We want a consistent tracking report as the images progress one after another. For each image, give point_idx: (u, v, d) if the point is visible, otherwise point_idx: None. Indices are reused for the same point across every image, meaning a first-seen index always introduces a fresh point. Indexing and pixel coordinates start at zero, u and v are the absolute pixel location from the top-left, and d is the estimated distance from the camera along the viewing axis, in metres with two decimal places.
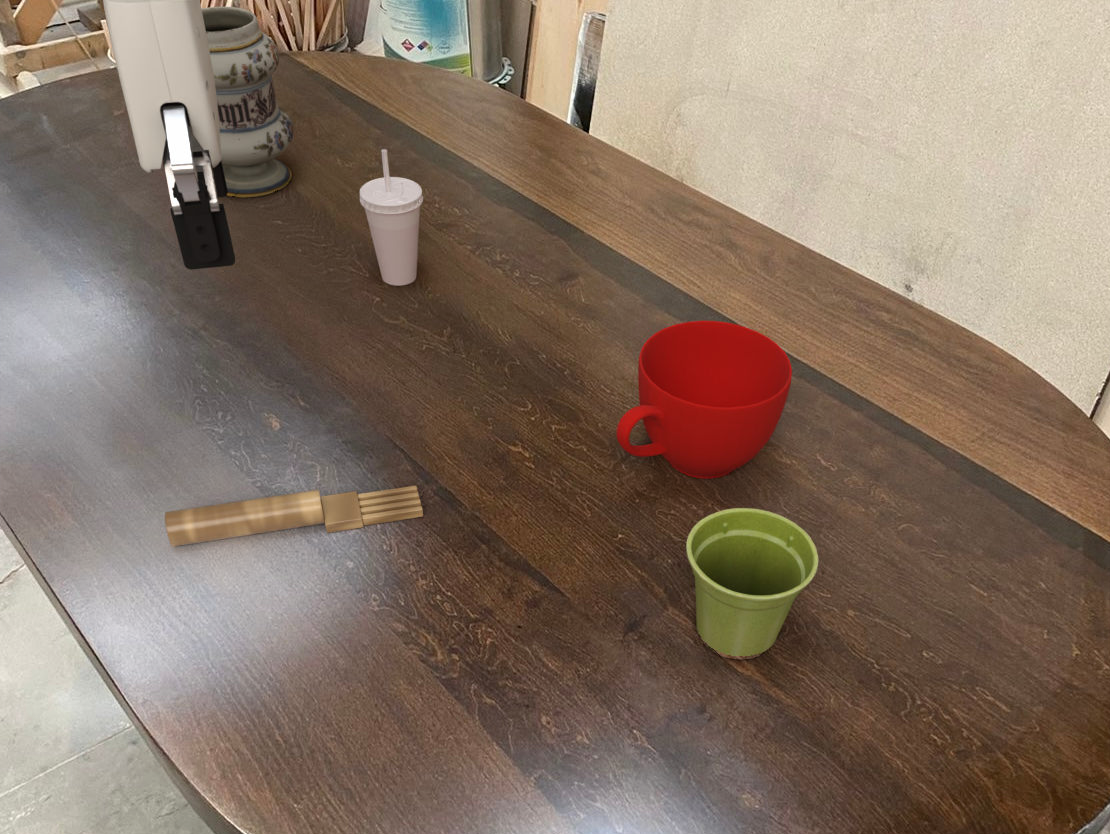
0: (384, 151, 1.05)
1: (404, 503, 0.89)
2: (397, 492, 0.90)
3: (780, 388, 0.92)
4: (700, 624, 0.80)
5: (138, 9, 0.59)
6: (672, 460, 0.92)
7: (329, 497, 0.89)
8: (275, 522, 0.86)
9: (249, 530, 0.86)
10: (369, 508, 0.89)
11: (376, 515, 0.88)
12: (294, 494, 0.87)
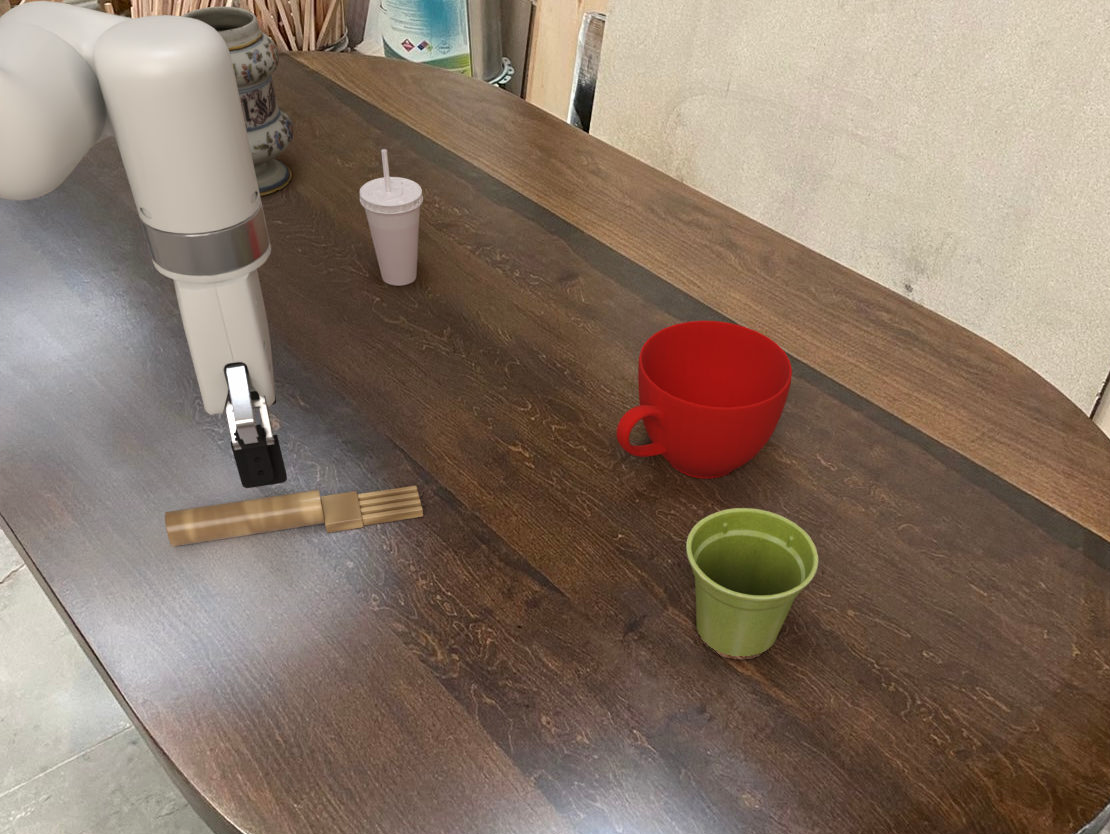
0: (384, 151, 1.05)
1: (404, 503, 0.89)
2: (397, 492, 0.90)
3: (780, 388, 0.92)
4: (700, 624, 0.80)
5: (206, 294, 0.67)
6: (672, 460, 0.92)
7: (329, 497, 0.89)
8: (275, 522, 0.86)
9: (249, 530, 0.86)
10: (369, 508, 0.89)
11: (376, 515, 0.88)
12: (294, 494, 0.87)
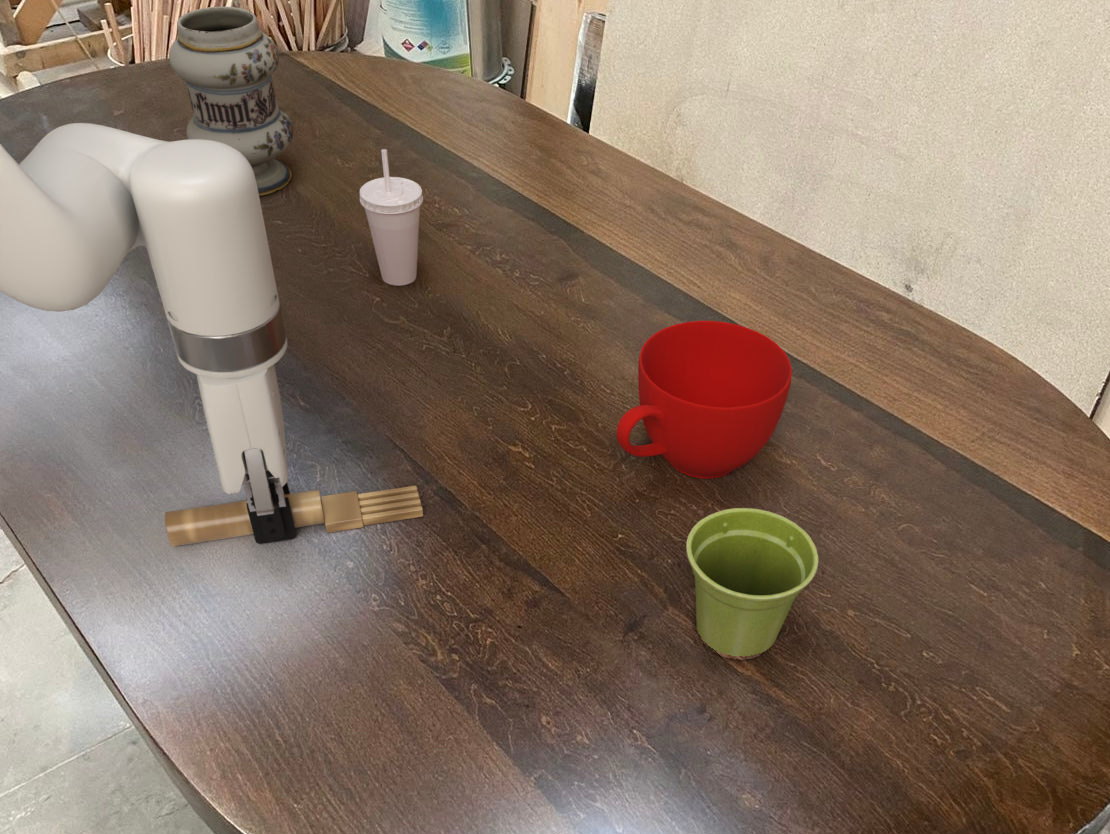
0: (384, 151, 1.05)
1: (404, 503, 0.89)
2: (397, 492, 0.90)
3: (780, 388, 0.92)
4: (700, 624, 0.80)
5: (227, 389, 0.73)
6: (672, 460, 0.92)
7: (329, 497, 0.89)
8: None
9: (249, 530, 0.86)
10: (369, 508, 0.89)
11: (376, 515, 0.88)
12: (294, 494, 0.87)
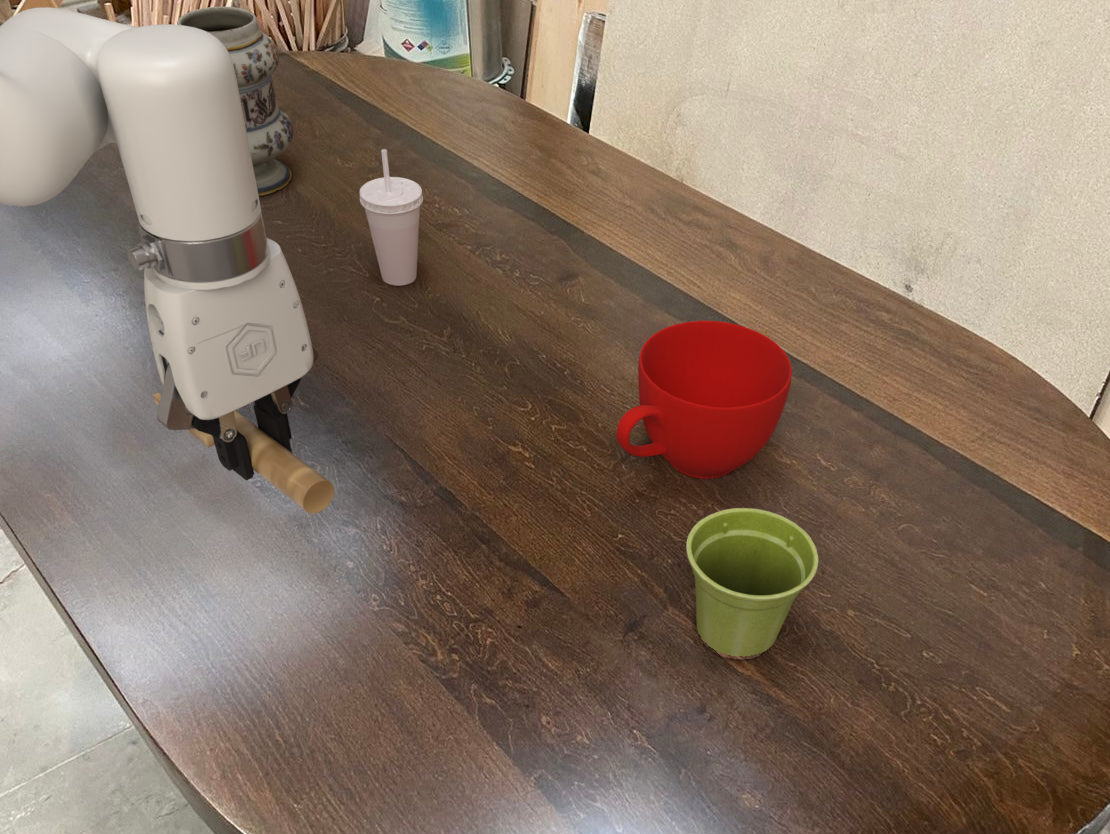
0: (384, 151, 1.05)
1: None
2: None
3: (780, 388, 0.92)
4: (700, 624, 0.80)
5: None
6: (672, 460, 0.92)
7: None
8: None
9: None
10: None
11: None
12: None
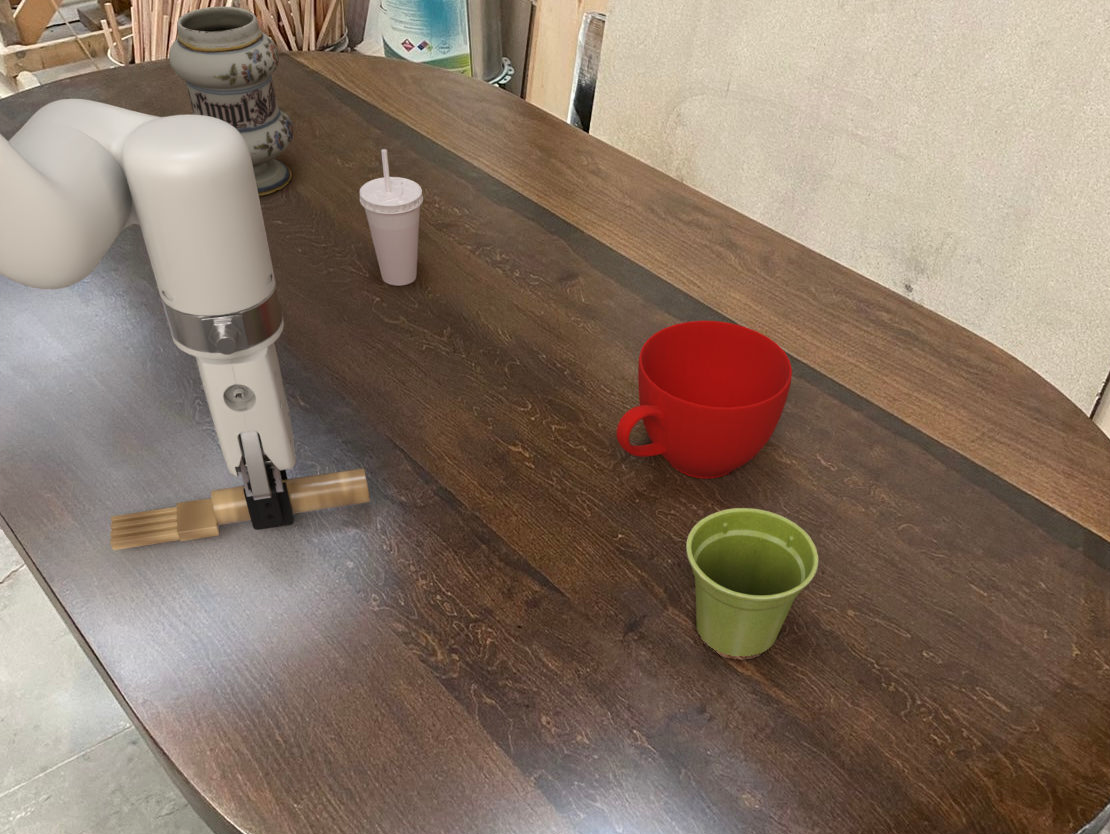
0: (384, 151, 1.05)
1: (128, 522, 0.84)
2: (133, 536, 0.83)
3: (780, 388, 0.92)
4: (700, 624, 0.80)
5: None
6: (672, 460, 0.92)
7: (207, 524, 0.84)
8: None
9: None
10: (167, 516, 0.85)
11: (161, 509, 0.85)
12: (237, 494, 0.84)
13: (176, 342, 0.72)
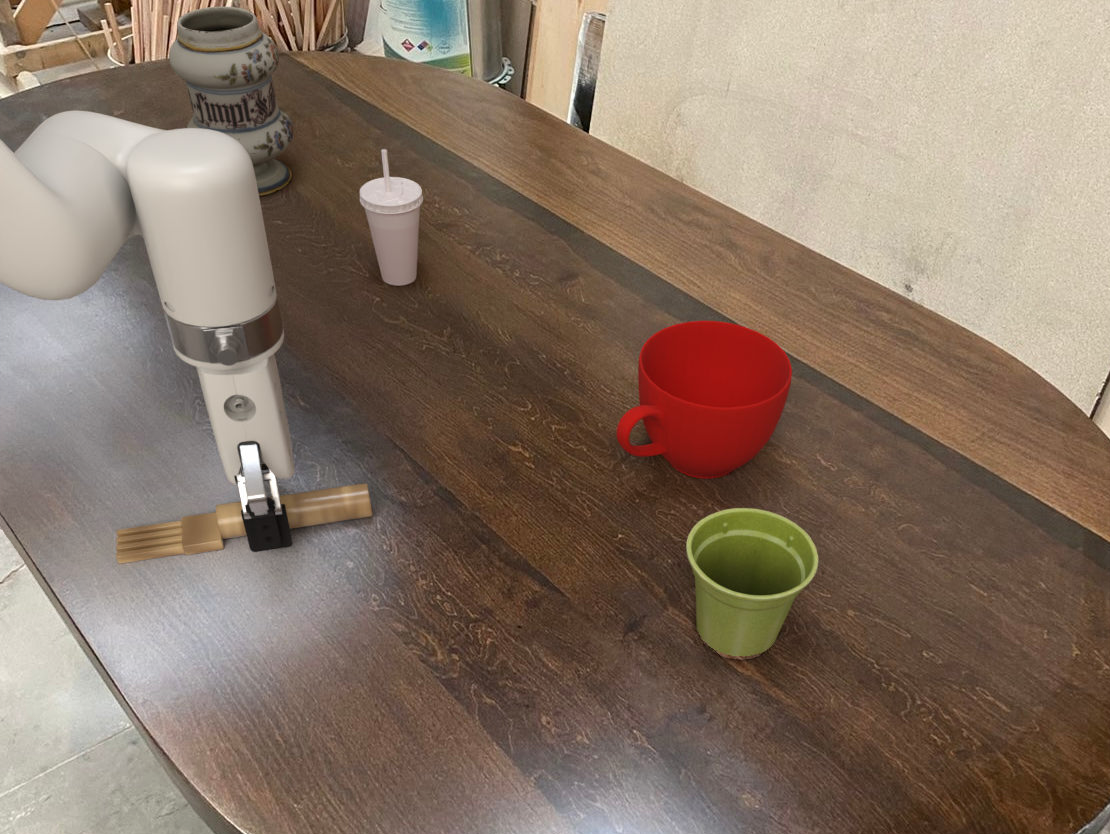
0: (384, 151, 1.05)
1: (134, 536, 0.85)
2: (138, 549, 0.84)
3: (780, 388, 0.92)
4: (700, 624, 0.80)
5: None
6: (672, 460, 0.92)
7: (211, 538, 0.85)
8: None
9: None
10: (172, 530, 0.86)
11: (166, 523, 0.86)
12: (241, 509, 0.85)
13: (178, 352, 0.73)
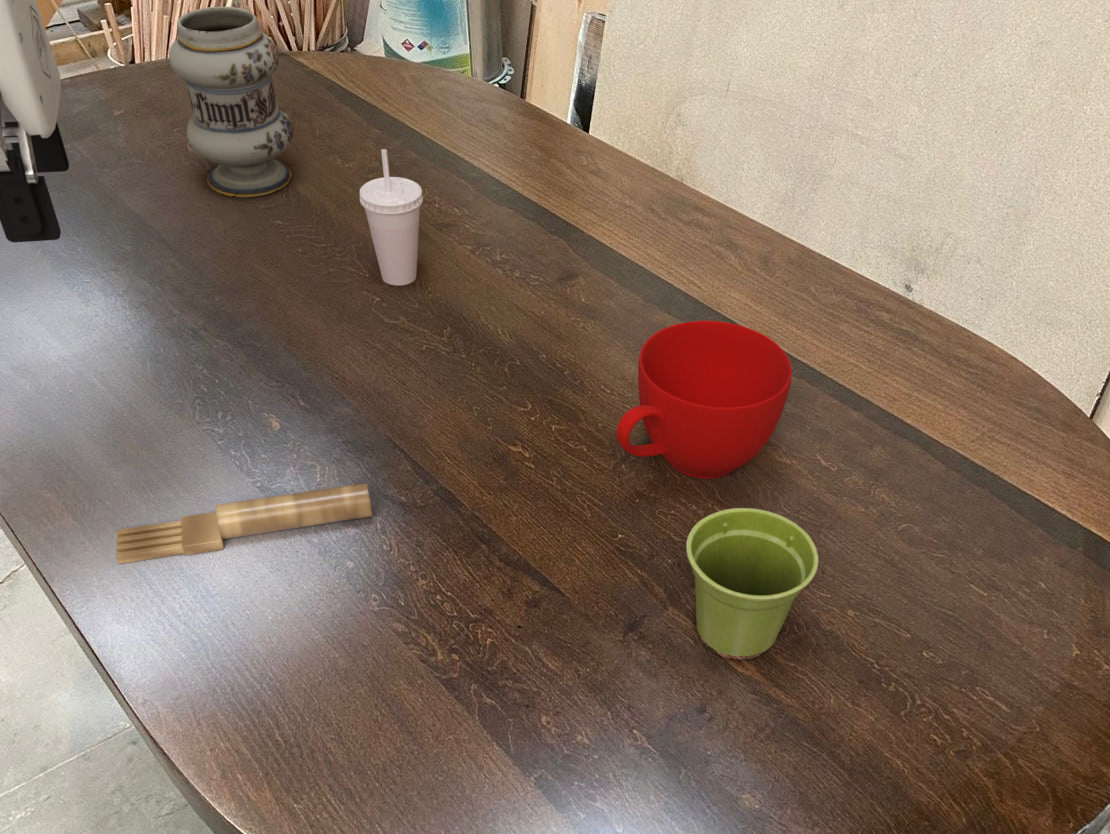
0: (384, 151, 1.05)
1: (134, 536, 0.85)
2: (138, 549, 0.84)
3: (780, 388, 0.92)
4: (700, 624, 0.80)
5: None
6: (672, 460, 0.92)
7: (211, 538, 0.85)
8: None
9: None
10: (172, 530, 0.86)
11: (166, 523, 0.86)
12: (241, 509, 0.85)
13: None
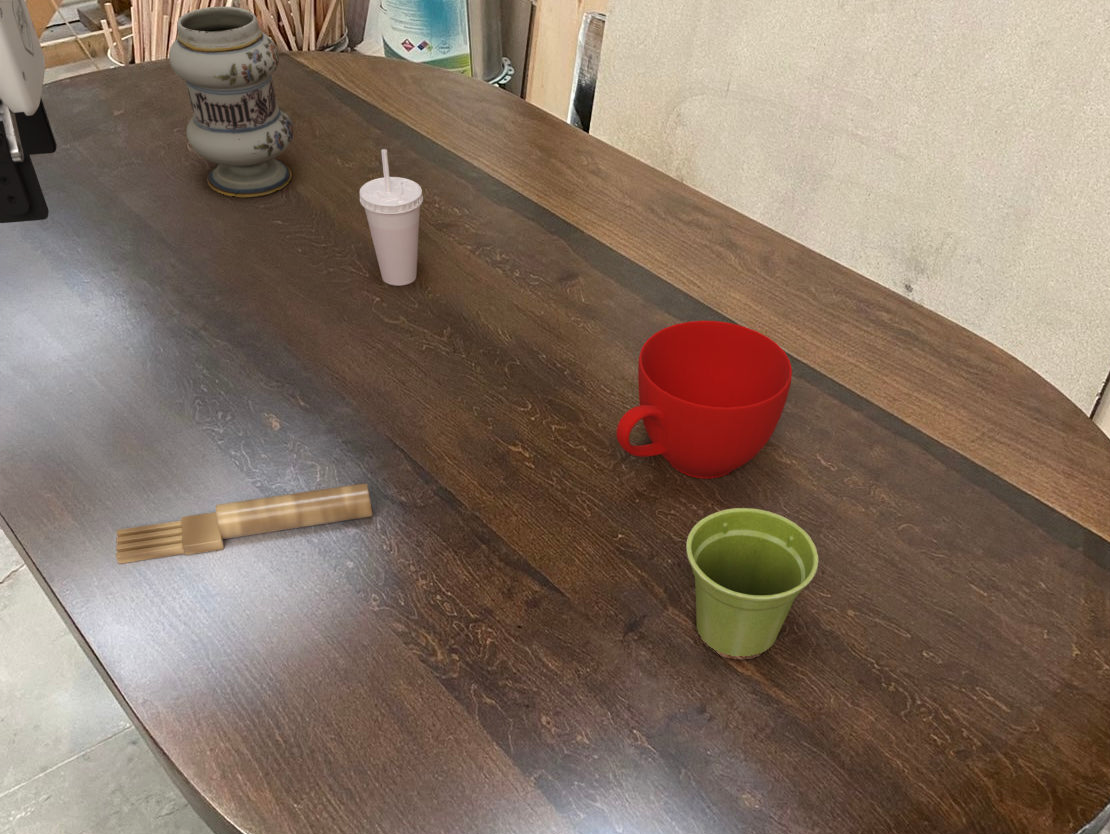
0: (384, 151, 1.05)
1: (134, 536, 0.85)
2: (138, 549, 0.84)
3: (780, 388, 0.92)
4: (700, 624, 0.80)
5: None
6: (672, 460, 0.92)
7: (211, 538, 0.85)
8: None
9: None
10: (172, 530, 0.86)
11: (166, 523, 0.86)
12: (241, 509, 0.85)
13: None
